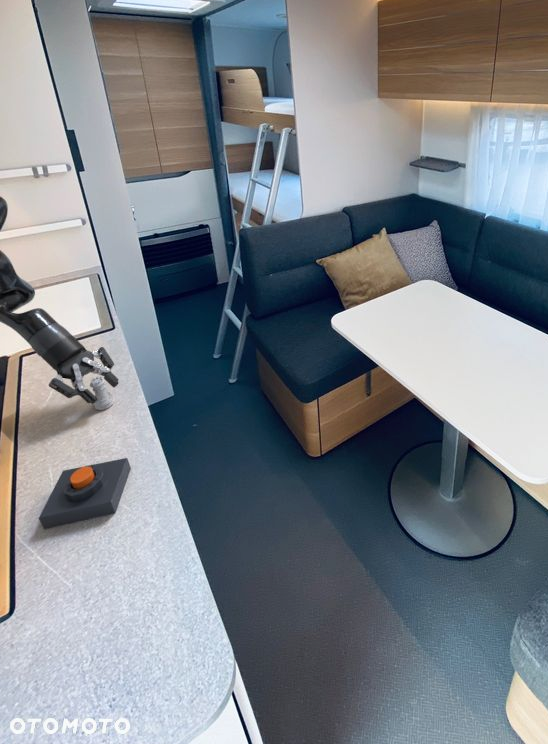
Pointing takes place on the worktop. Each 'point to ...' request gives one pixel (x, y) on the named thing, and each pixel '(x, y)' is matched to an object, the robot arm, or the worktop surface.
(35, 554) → the worktop surface
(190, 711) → the worktop surface
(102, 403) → the rook chess piece
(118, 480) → the control box
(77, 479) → the button
